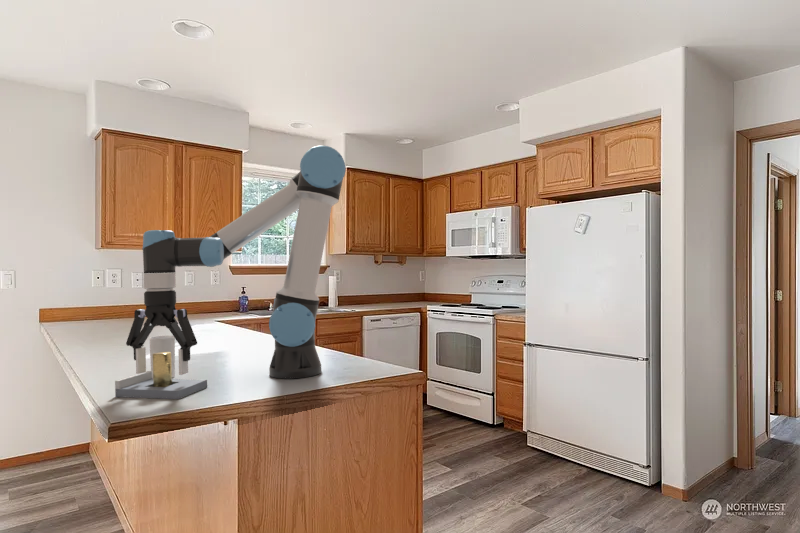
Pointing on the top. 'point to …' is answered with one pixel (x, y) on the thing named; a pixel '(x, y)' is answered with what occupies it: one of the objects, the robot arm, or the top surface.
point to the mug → (163, 349)
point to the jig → (144, 387)
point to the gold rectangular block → (162, 369)
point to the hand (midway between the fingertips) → (162, 373)
